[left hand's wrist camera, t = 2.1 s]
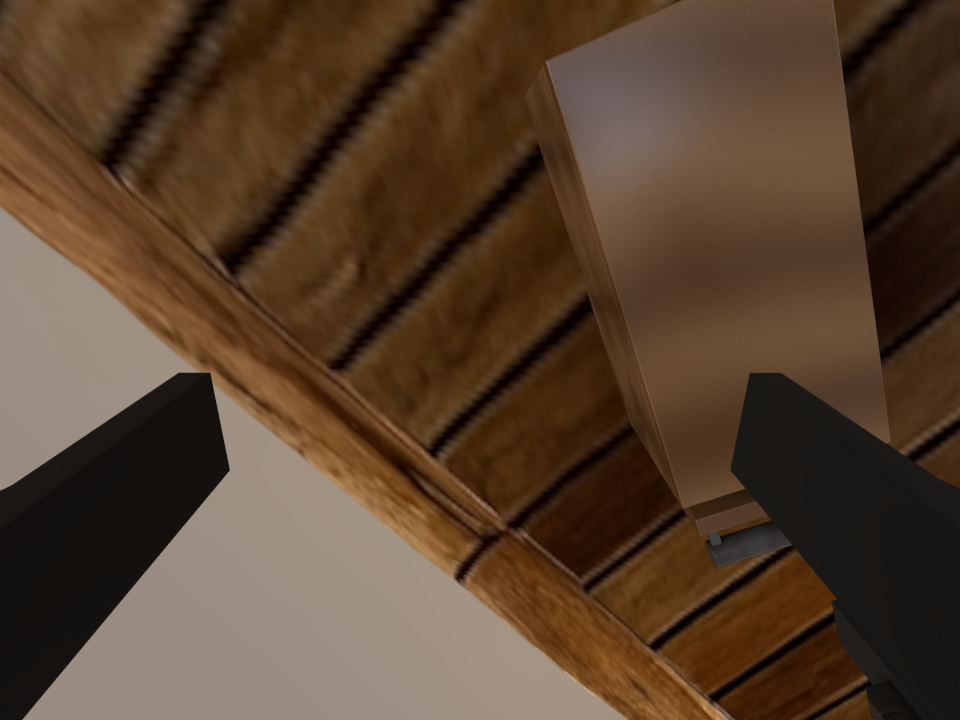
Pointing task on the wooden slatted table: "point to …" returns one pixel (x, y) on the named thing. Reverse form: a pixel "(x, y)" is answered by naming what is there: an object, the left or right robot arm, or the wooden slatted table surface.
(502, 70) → the wooden slatted table surface
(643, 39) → the cabinet
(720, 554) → the drawer
